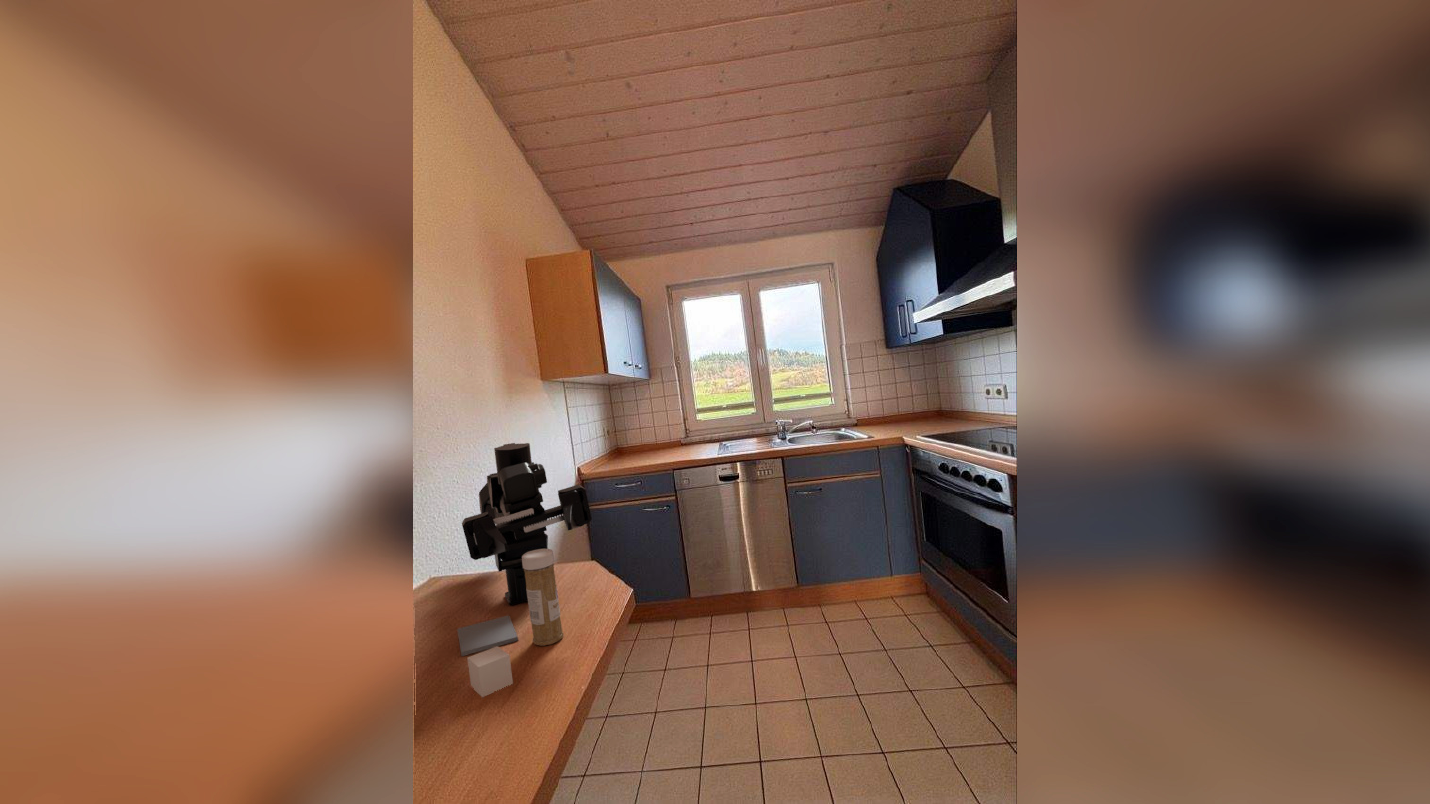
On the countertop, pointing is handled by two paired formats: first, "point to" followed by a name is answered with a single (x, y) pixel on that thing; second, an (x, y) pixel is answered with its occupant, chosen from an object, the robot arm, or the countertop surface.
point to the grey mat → (486, 635)
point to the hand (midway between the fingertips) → (539, 536)
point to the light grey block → (490, 671)
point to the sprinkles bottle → (542, 596)
